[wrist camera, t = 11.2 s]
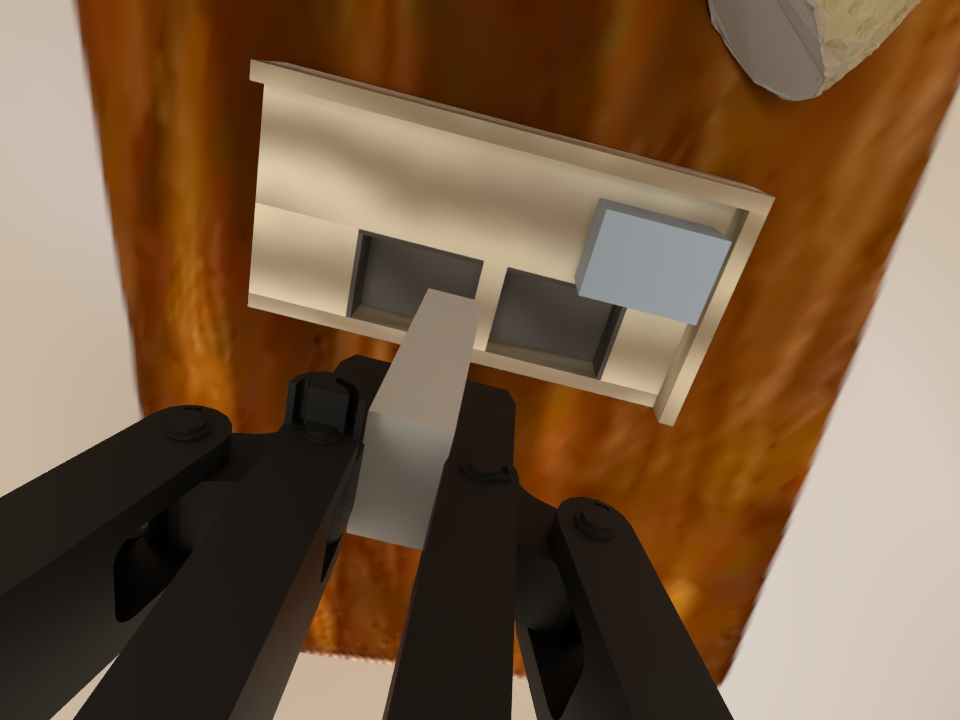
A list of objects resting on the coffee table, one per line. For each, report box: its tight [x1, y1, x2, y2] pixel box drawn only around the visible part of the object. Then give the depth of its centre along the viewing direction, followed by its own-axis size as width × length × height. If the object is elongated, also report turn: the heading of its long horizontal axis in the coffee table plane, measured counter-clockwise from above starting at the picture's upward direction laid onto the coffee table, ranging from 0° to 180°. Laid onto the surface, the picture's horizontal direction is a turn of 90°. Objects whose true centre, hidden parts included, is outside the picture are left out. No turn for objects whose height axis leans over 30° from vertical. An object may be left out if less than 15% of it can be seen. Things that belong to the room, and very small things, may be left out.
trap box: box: [248, 60, 775, 426], centre depth 37 cm, size 15×29×5 cm, turn 76°
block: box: [574, 198, 732, 325], centre depth 35 cm, size 5×7×4 cm
